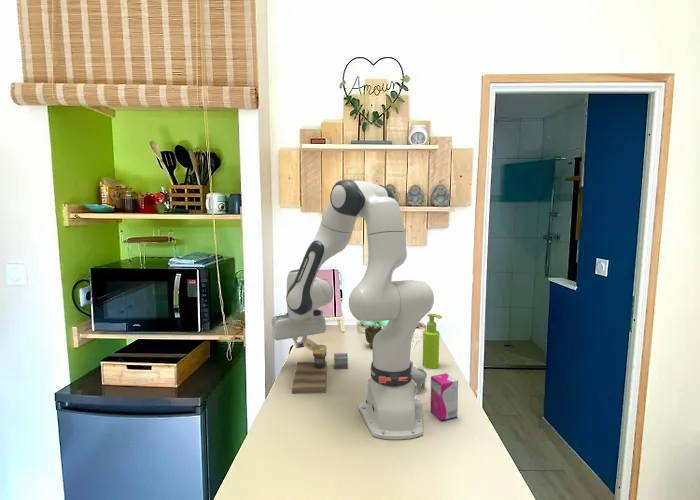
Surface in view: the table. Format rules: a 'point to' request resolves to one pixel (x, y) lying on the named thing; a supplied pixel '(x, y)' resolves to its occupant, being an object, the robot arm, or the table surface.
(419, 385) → the pig figurine
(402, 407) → the robot arm
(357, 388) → the table surface
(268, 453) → the table surface
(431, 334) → the soap dispenser
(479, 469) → the table surface
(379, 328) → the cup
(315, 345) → the latch lever
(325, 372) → the lock base
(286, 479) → the table surface
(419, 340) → the fork
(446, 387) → the supplement box
